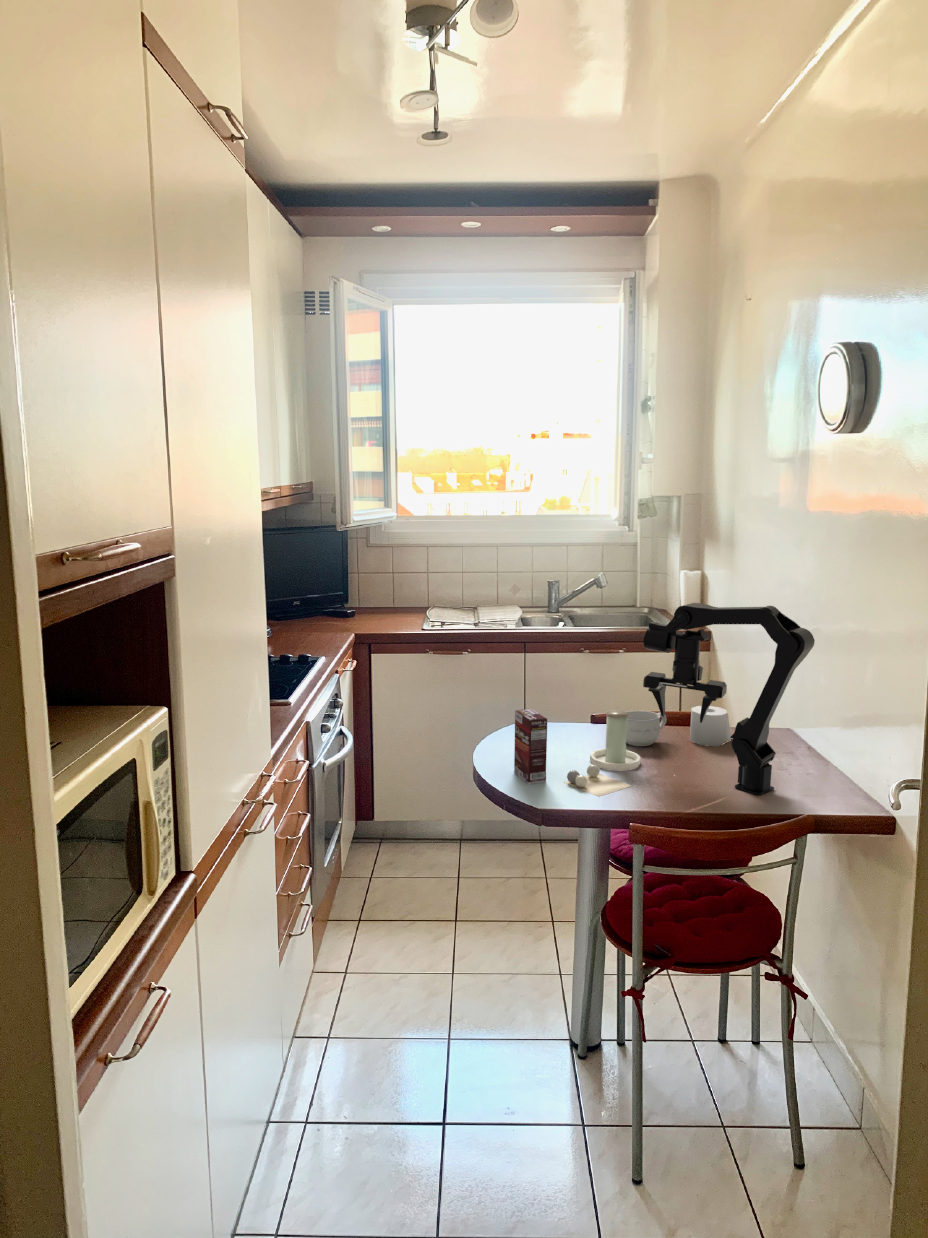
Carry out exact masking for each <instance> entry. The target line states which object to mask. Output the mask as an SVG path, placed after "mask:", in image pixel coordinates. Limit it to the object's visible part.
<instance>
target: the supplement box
mask: <svg viewBox="0 0 928 1238" xmlns="http://www.w3.org/2000/svg"><path fill="white" fill-rule="evenodd" d="M547 744H548V718H547V717H545V716H544V715H542V714H540V712H539V713H538V712H537V711H536V710H534V709H533V708H524V709H518V710H517V709H516V710H515V711H514V757H513V758H514V761H513V762H514V766H513V769H514V770H513V773H514V774H516V776H518V777H519V778H520V779H522V780H523V781H524V782H525V783H526V784H528V785H530V784H531V785H532V784H538V783H546V782H547V748H548V745H547Z"/></svg>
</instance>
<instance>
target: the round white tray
mask: <svg viewBox="0 0 928 1238" xmlns="http://www.w3.org/2000/svg"><path fill="white" fill-rule="evenodd" d="M605 751H606V748H599V749H596V750H593V751H592V752H591V753H589V754H590V755H589V762H590V763H591V765H596V766H598V768H599V769H603V770H605V771H615V772H617V771H618V772H622V771H625V772H626V771H631V770H635V769H637V768H639V766H640V764H641V762H642V761H641V756H640V754H638V753H637V752H633V751H631V750H628V749H626V762H625V763H609V762H605Z"/></svg>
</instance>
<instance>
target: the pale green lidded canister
mask: <svg viewBox="0 0 928 1238" xmlns="http://www.w3.org/2000/svg"><path fill="white" fill-rule="evenodd" d="M605 715H606V729H605V730H606V731H605V749H606V751H605V762H609V763H625V762H626V750H627V742H626V738H627V717H628V712H627V711H625V710H620V709H612V710H611V709H609V710H607V711H606V712H605Z"/></svg>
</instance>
